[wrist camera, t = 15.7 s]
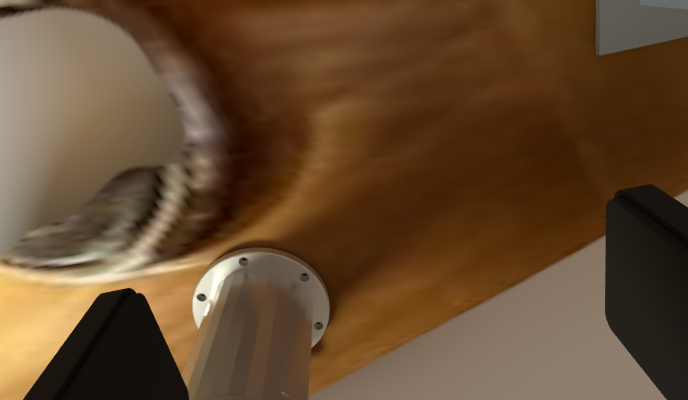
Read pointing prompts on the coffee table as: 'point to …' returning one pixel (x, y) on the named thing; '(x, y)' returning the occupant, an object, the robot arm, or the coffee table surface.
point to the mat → (636, 25)
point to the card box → (666, 3)
